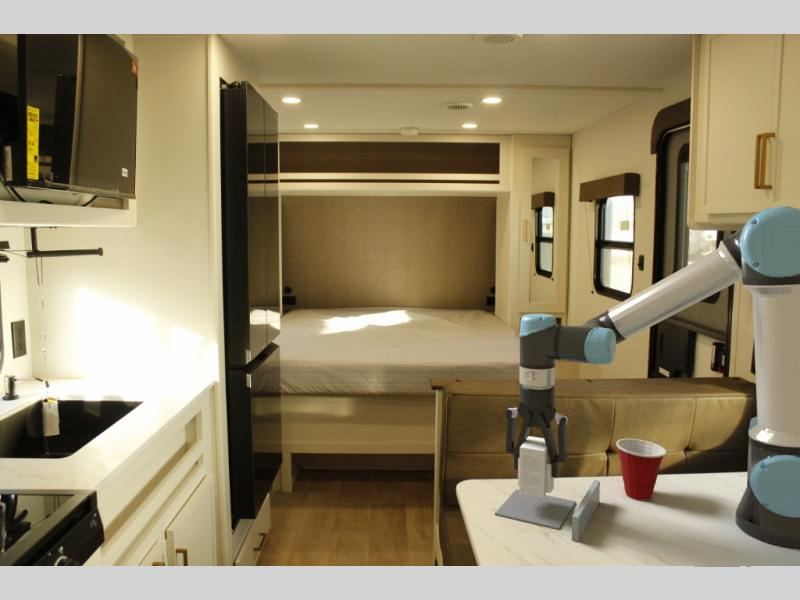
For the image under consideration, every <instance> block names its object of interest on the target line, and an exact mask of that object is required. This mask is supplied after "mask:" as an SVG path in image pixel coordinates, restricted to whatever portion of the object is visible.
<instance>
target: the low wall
mask: <svg viewBox="0 0 800 600" xmlns="http://www.w3.org/2000/svg"><path fill="white" fill-rule="evenodd" d="M600 487H601V481H600V480H597V479H594V480H593V481H592V483H591V485H590V486H589V488H588V489H587V491H586V493H585V495H584V496H583V498H582V499H581V501H580V503H579V505H578V506H577V508H576V510H574V512H573V514H572V516H571V541H573V542H577V543H578V542H579V541H580V539H581V537H582V535H583V534H584V531H585V530H586V528H587V526H588V524H589V523H590V521H591V519H592V517H593V515H594V513H595V511H596V509H597V508H598V505H599V503H600V499H601V498H600V497H601V496H600V494H601V492H600V491H601V490H600V489H601V488H600Z"/></svg>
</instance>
